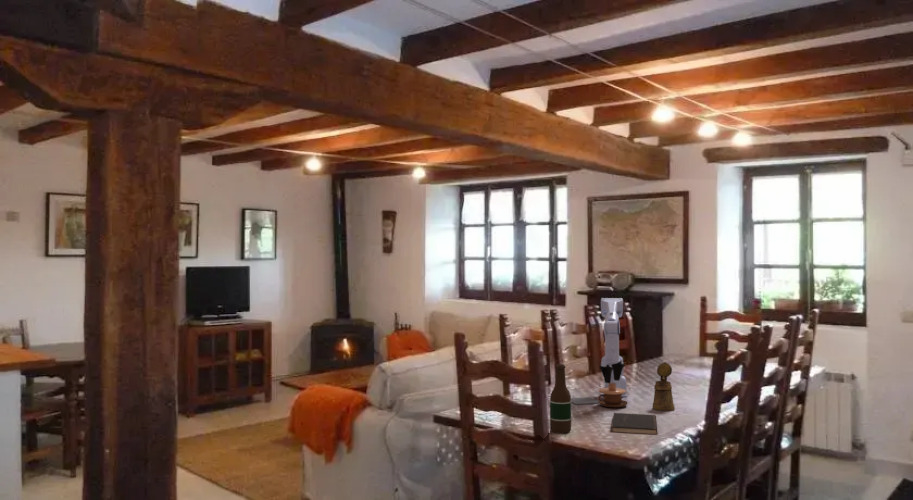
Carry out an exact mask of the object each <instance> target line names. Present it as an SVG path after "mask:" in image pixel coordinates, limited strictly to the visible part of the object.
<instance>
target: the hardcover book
mask: <svg viewBox="0 0 913 500" xmlns="http://www.w3.org/2000/svg"><path fill="white" fill-rule="evenodd" d="M611 428H612V432H616V433H633V434H650V435H652V434H653V435H658V433H659V432H658V422H657V416H656V415H655V414H645V413H644V414H643V413H642V414H640V413H623V412H622V413H621V412H613V416H612V422H611Z"/></svg>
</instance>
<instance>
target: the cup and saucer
mask: <svg viewBox="0 0 913 500" xmlns="http://www.w3.org/2000/svg"><path fill="white" fill-rule="evenodd" d="M602 397H603V399H601V398H602ZM622 398H623V397H622V394H619V395H610V394H601V393H600V394H599V395H598V400H597V401H598V402H599V405H600V406H602V407H605V408H610V409H618V408H623V407H626V406H627V405H628V401H626V400H623V399H622Z"/></svg>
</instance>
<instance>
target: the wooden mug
mask: <svg viewBox="0 0 913 500" xmlns="http://www.w3.org/2000/svg"><path fill="white" fill-rule="evenodd" d="M672 370H673V369H672V366H671V365H670V364H669V363H668V362H666V361H665V362H662V363H661V364H658V366H657V368H656V373H657V375H658V376H659V377H660V380H655V384H654V396H653V402H652V409H653V410H656V411H661V412H667V411H668V412H669V411H675V403H674V399H673V391H672V389H673V388H672V387H673V386H672V383H671V381H667V380H668V377H670V375H672V372H673V371H672Z"/></svg>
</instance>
